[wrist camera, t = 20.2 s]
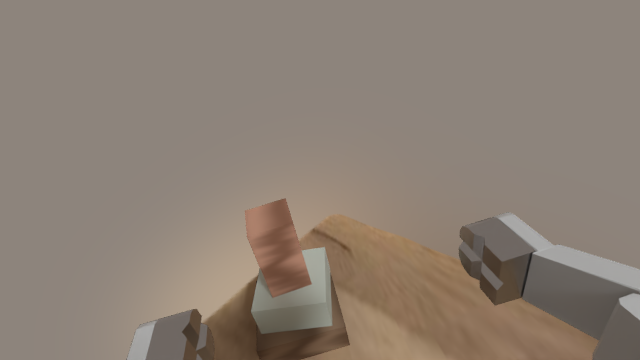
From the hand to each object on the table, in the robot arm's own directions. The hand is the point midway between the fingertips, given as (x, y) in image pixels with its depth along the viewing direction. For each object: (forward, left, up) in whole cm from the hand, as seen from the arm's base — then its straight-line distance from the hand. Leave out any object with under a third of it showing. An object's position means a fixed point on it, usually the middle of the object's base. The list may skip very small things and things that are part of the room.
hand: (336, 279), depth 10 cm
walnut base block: (-4, +23, -32) cm, 40 cm away
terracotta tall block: (-4, +23, -23) cm, 33 cm away
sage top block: (-4, +23, -28) cm, 36 cm away
